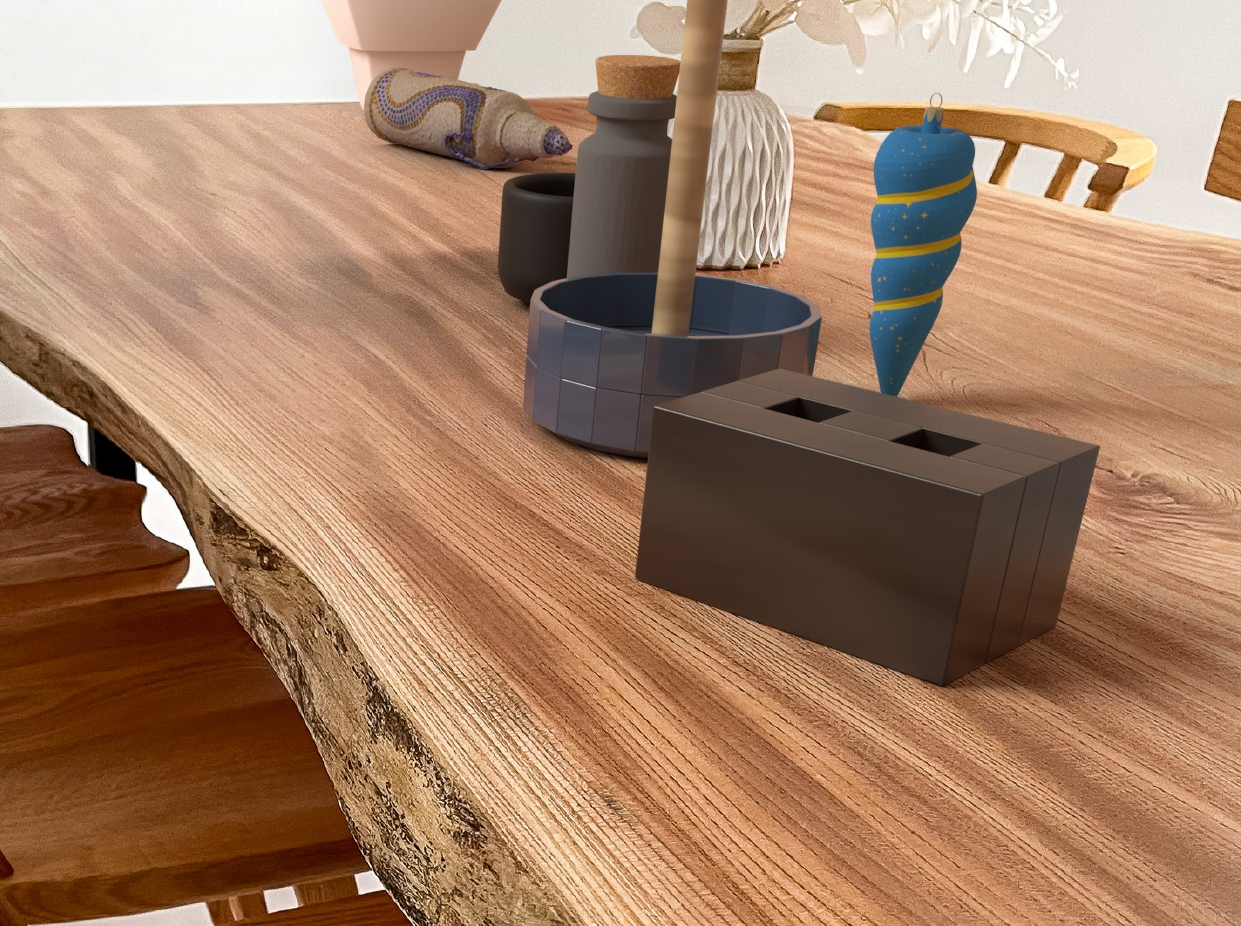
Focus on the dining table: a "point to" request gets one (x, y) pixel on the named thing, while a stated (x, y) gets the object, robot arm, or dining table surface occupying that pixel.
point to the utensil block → (863, 519)
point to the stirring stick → (688, 164)
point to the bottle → (624, 167)
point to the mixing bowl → (651, 351)
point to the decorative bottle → (459, 120)
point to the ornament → (916, 236)
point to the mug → (535, 232)
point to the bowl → (408, 34)
